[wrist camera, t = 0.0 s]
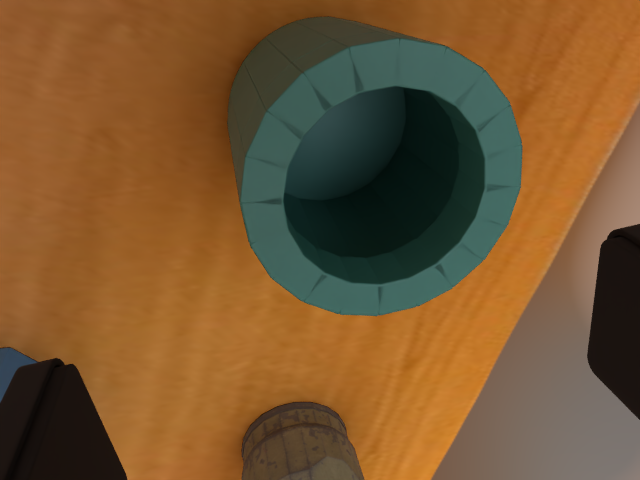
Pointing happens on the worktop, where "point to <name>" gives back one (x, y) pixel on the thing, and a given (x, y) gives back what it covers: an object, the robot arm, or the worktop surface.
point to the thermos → (299, 445)
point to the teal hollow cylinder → (369, 164)
